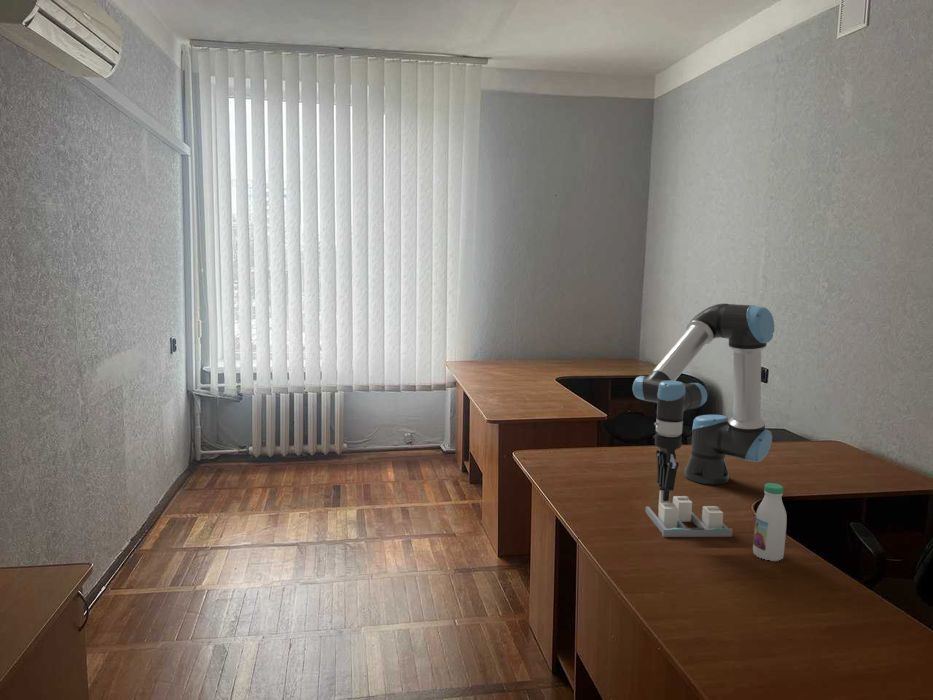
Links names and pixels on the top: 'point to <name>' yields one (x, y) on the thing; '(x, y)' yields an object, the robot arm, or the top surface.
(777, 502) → the milk bottle
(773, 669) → the top surface
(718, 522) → the white rectangular block
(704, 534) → the switch board
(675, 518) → the white block with handle
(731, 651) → the top surface
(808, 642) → the top surface
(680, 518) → the white ridged block
